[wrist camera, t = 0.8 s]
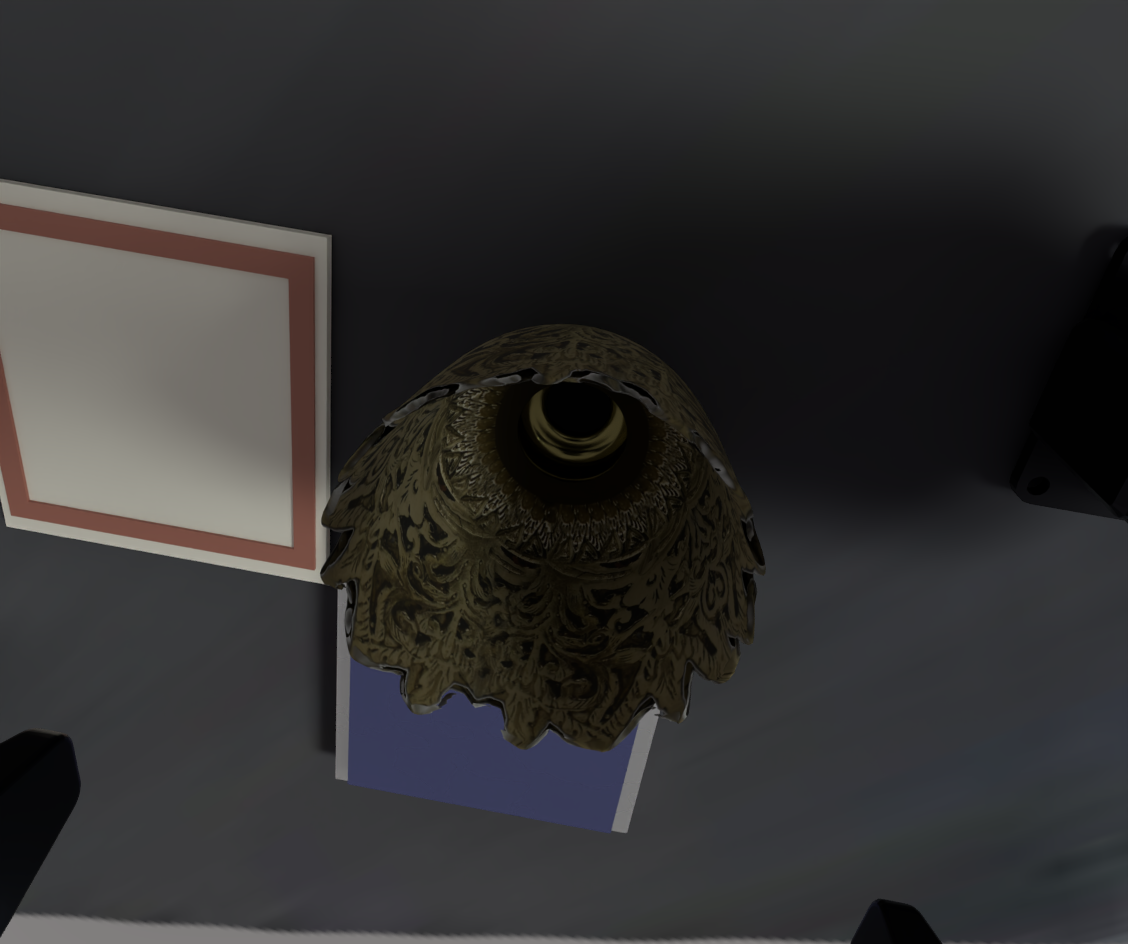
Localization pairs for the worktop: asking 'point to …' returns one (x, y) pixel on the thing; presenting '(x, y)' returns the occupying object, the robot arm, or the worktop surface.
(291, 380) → the marked card
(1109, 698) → the worktop surface
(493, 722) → the ink pad
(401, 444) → the ornate bronze cup
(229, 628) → the worktop surface
